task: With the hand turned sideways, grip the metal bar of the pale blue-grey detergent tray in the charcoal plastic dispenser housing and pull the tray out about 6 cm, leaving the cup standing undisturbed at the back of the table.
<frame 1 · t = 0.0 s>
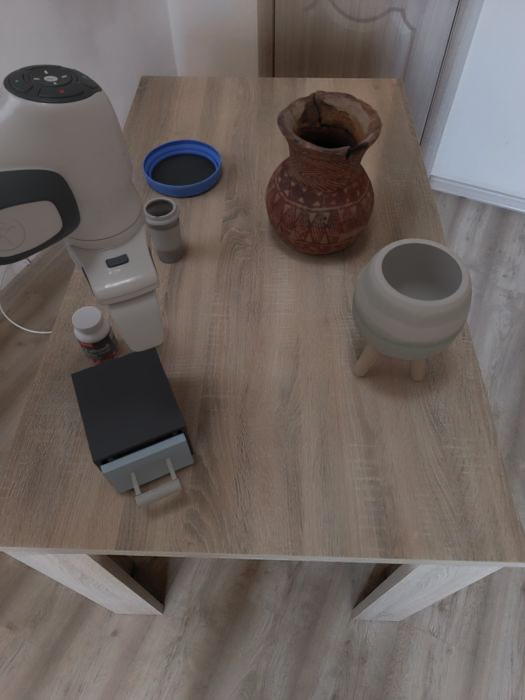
hand: (136, 314, 62), 20 cm above the table, tool pointing down, fingers open, 8 cm apart
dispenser: (141, 429, 75), on the table
clay vase: (315, 232, 100), on the table
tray: (143, 442, 68), point 5 cm above the table, slide at 0.5 cm
cup: (170, 255, 97), on the table
bowl: (184, 175, 111), on the table
pill bottle: (104, 352, 83), on the table
planter: (386, 362, 82), on the table
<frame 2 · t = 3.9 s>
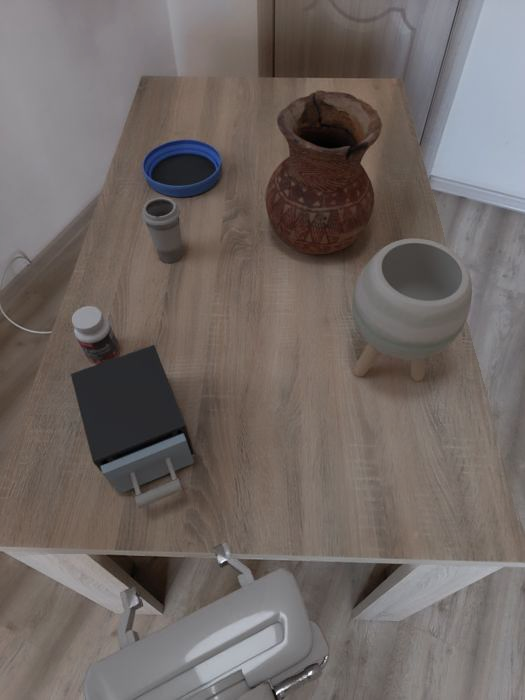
hand: (175, 567, 47), 18 cm above the table, tool horizontal, fingers open, 8 cm apart
nothing on the table moved.
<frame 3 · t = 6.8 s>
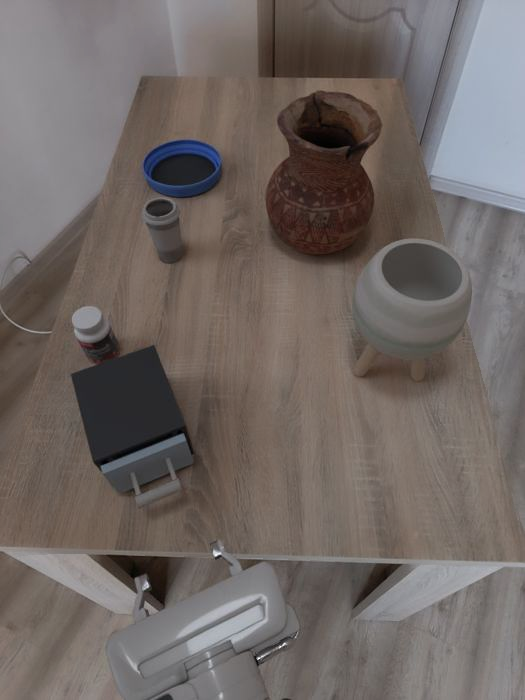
hand: (179, 558, 58), 7 cm above the table, tool horizontal, fingers open, 8 cm apart
nothing on the table moved.
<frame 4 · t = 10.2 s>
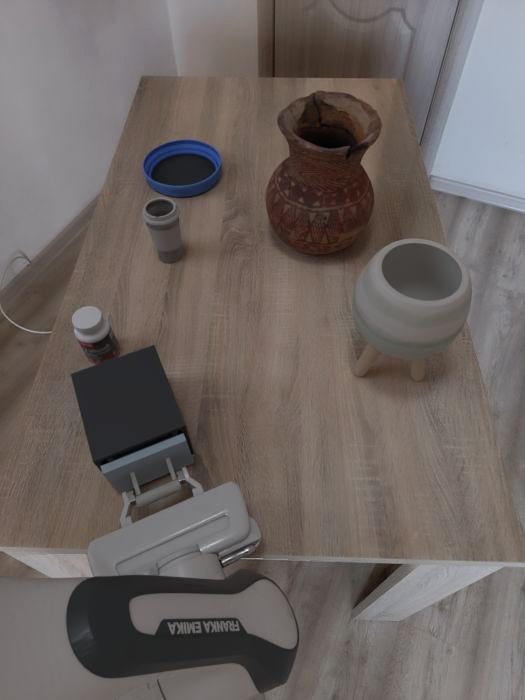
hand: (154, 480, 64), 6 cm above the table, tool horizontal, fingers closed on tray, 6 cm apart
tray: (143, 442, 68), point 5 cm above the table, slide at 0.5 cm, touching gripper
everything else where it was.
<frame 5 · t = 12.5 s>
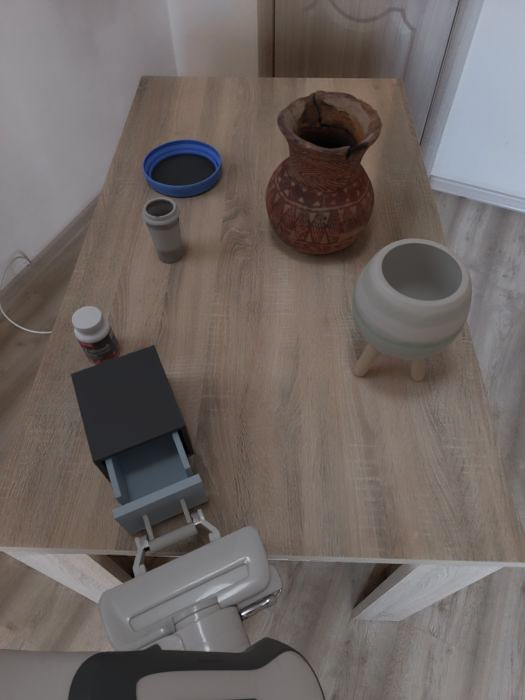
hand: (168, 524, 61), 6 cm above the table, tool horizontal, fingers closed on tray, 6 cm apart
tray: (155, 480, 65), point 5 cm above the table, slide at 6.7 cm, touching gripper
everything else where it was.
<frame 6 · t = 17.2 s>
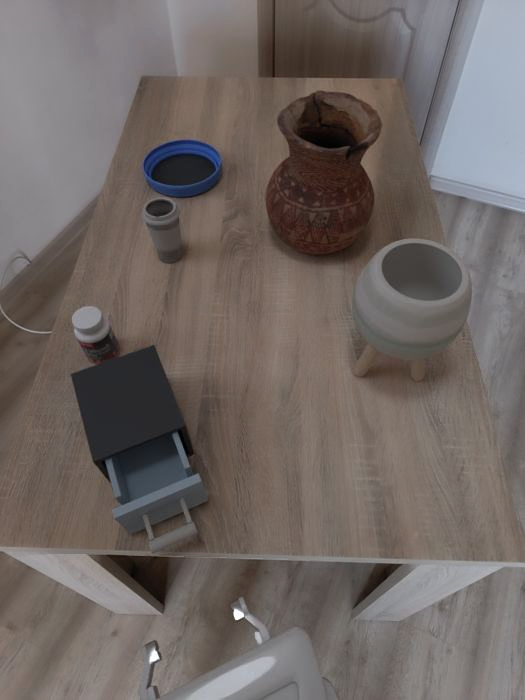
hand: (193, 621, 48), 13 cm above the table, tool horizontal, fingers open, 8 cm apart
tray: (155, 480, 65), point 5 cm above the table, slide at 6.6 cm
everything else where it was.
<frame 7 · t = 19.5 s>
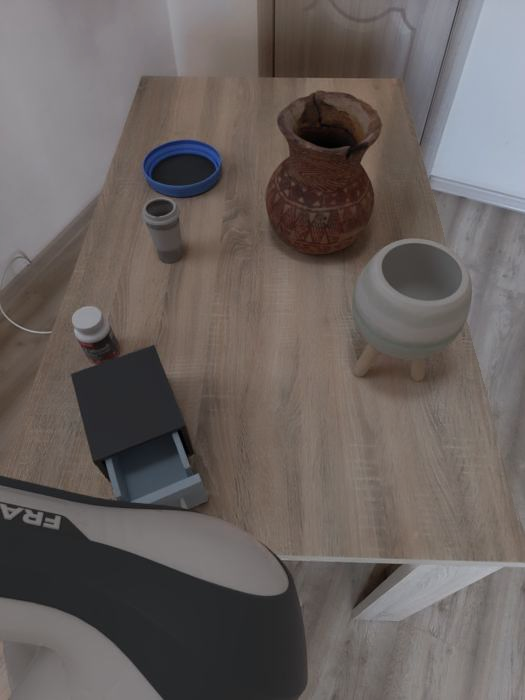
hand: (131, 557, 43), 23 cm above the table, tool tilted 55°, fingers open, 8 cm apart
nothing on the table moved.
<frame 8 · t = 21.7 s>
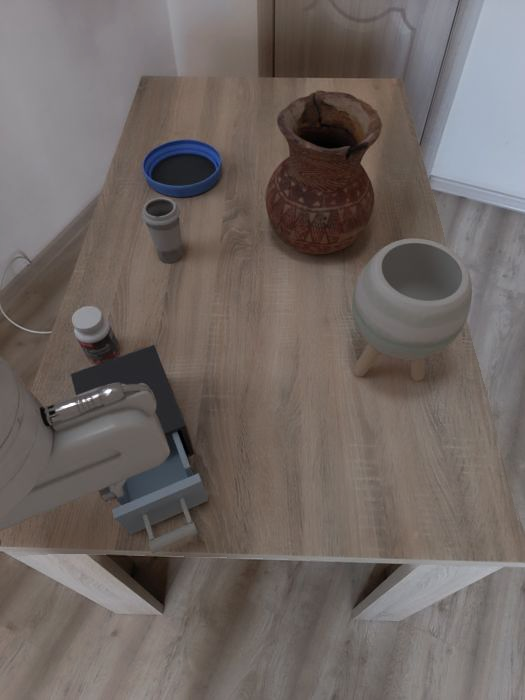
hand: (53, 514, 37), 31 cm above the table, tool pointing down, fingers open, 8 cm apart
nothing on the table moved.
at the end: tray slide at 6.6 cm; cup moved 0.2 cm from its start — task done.
